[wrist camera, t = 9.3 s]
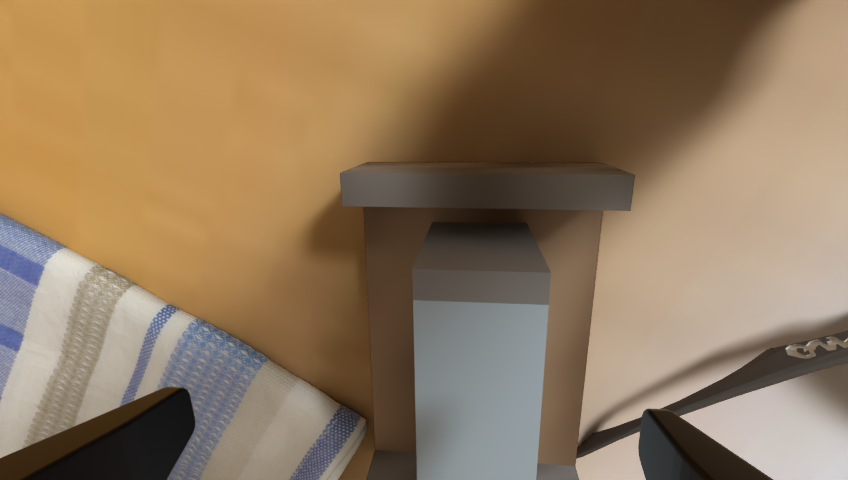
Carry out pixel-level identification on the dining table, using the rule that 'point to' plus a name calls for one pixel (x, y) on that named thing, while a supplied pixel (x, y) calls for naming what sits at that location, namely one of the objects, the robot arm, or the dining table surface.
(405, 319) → the cradle
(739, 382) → the sunglasses
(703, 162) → the dining table surface
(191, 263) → the dining table surface
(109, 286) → the dish towel
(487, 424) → the light blue rectangular block
